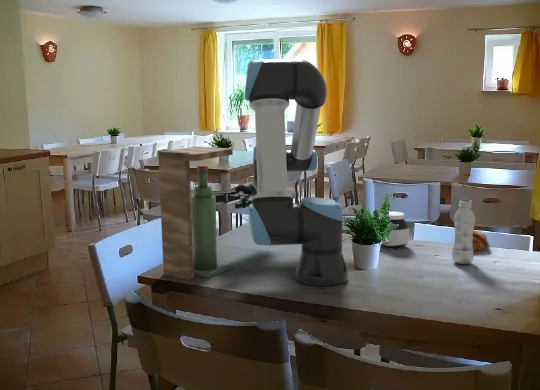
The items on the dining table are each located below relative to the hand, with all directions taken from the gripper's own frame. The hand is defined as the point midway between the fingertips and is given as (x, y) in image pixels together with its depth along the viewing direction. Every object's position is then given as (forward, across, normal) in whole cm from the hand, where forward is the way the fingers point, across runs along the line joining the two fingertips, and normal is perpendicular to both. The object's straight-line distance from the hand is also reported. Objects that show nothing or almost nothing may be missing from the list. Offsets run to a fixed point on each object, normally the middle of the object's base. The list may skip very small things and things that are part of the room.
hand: (209, 205), depth 182 cm
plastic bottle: (-42, -66, -19) cm, 81 cm away
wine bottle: (+3, 0, -19) cm, 19 cm away
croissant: (-61, -65, -20) cm, 91 cm away
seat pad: (+4, 0, -19) cm, 20 cm away
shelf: (+6, 0, -19) cm, 20 cm away
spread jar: (-48, -39, -20) cm, 65 cm away
